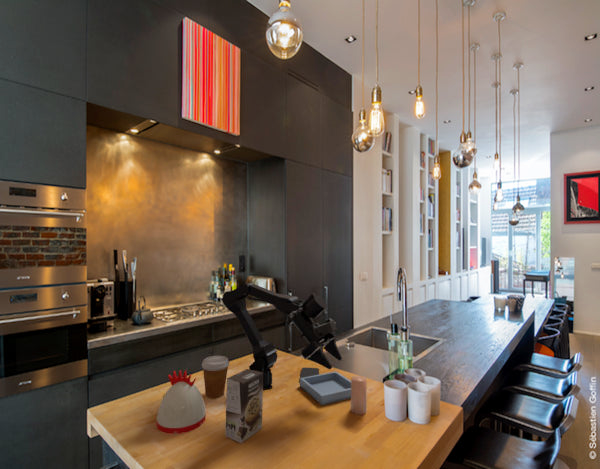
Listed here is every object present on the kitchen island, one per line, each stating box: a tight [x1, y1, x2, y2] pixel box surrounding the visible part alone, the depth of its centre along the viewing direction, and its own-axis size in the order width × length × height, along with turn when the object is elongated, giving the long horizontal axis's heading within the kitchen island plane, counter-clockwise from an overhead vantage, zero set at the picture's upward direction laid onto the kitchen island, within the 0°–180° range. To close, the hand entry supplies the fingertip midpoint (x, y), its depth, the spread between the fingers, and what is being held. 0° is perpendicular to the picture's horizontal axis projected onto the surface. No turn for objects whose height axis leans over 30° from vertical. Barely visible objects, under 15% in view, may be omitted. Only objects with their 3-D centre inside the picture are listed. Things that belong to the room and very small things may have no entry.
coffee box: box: [224, 368, 264, 444], centre depth 96 cm, size 9×6×16 cm
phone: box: [298, 367, 320, 384], centre depth 136 cm, size 7×1×15 cm
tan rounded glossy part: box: [350, 375, 368, 415], centre depth 109 cm, size 5×5×10 cm
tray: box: [299, 371, 351, 406], centre depth 123 cm, size 16×16×3 cm
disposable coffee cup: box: [201, 355, 230, 399], centre depth 119 cm, size 10×10×12 cm
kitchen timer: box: [156, 369, 207, 435], centre depth 102 cm, size 14×14×15 cm
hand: (336, 364), depth 113 cm, fingers open, 9 cm apart
